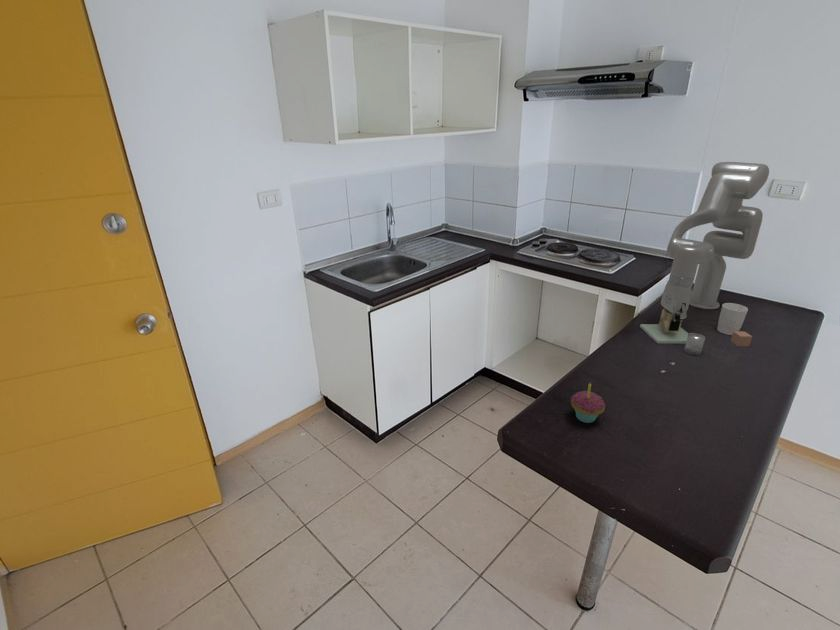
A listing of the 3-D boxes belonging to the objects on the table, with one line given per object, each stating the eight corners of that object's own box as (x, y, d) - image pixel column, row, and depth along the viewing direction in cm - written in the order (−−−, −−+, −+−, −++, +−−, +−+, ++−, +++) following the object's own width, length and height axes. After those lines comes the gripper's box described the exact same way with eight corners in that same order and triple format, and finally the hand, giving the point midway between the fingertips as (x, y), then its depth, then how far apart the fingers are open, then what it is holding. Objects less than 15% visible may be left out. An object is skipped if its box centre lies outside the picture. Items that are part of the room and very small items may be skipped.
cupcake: (598, 431, 112) (606, 391, 107) (564, 420, 116) (570, 381, 111) (605, 414, 119) (613, 375, 114) (573, 404, 123) (579, 366, 118)
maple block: (658, 326, 164) (662, 308, 161) (672, 326, 164) (676, 308, 161) (665, 331, 160) (669, 314, 157) (679, 331, 160) (683, 314, 157)
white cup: (717, 334, 163) (724, 309, 159) (713, 325, 170) (720, 301, 166) (742, 337, 161) (750, 312, 157) (737, 329, 167) (745, 304, 163)
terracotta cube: (730, 341, 158) (733, 331, 156) (741, 341, 158) (744, 331, 156) (737, 346, 154) (740, 336, 153) (748, 346, 154) (752, 336, 153)
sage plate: (639, 326, 169) (640, 324, 169) (676, 326, 169) (677, 324, 169) (657, 343, 156) (658, 340, 156) (697, 343, 156) (697, 341, 156)
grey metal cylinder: (681, 348, 153) (685, 332, 151) (695, 348, 153) (699, 332, 151) (689, 355, 149) (693, 339, 146) (703, 355, 149) (708, 339, 146)
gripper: (658, 272, 162) (648, 317, 169) (683, 288, 146) (670, 337, 154) (679, 272, 162) (667, 317, 169) (706, 288, 146) (692, 337, 154)
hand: (669, 326), depth 162 cm, fingers closed on maple block, 4 cm apart
